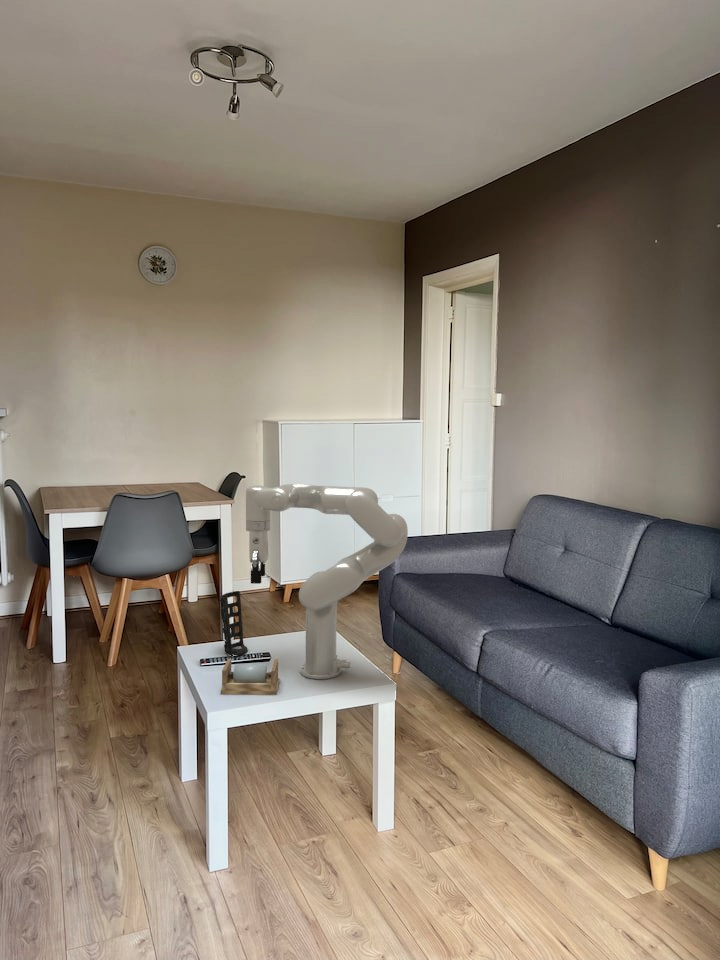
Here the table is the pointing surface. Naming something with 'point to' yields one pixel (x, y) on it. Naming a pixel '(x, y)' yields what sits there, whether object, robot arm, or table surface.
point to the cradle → (250, 688)
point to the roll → (250, 673)
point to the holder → (227, 625)
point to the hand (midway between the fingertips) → (258, 579)
